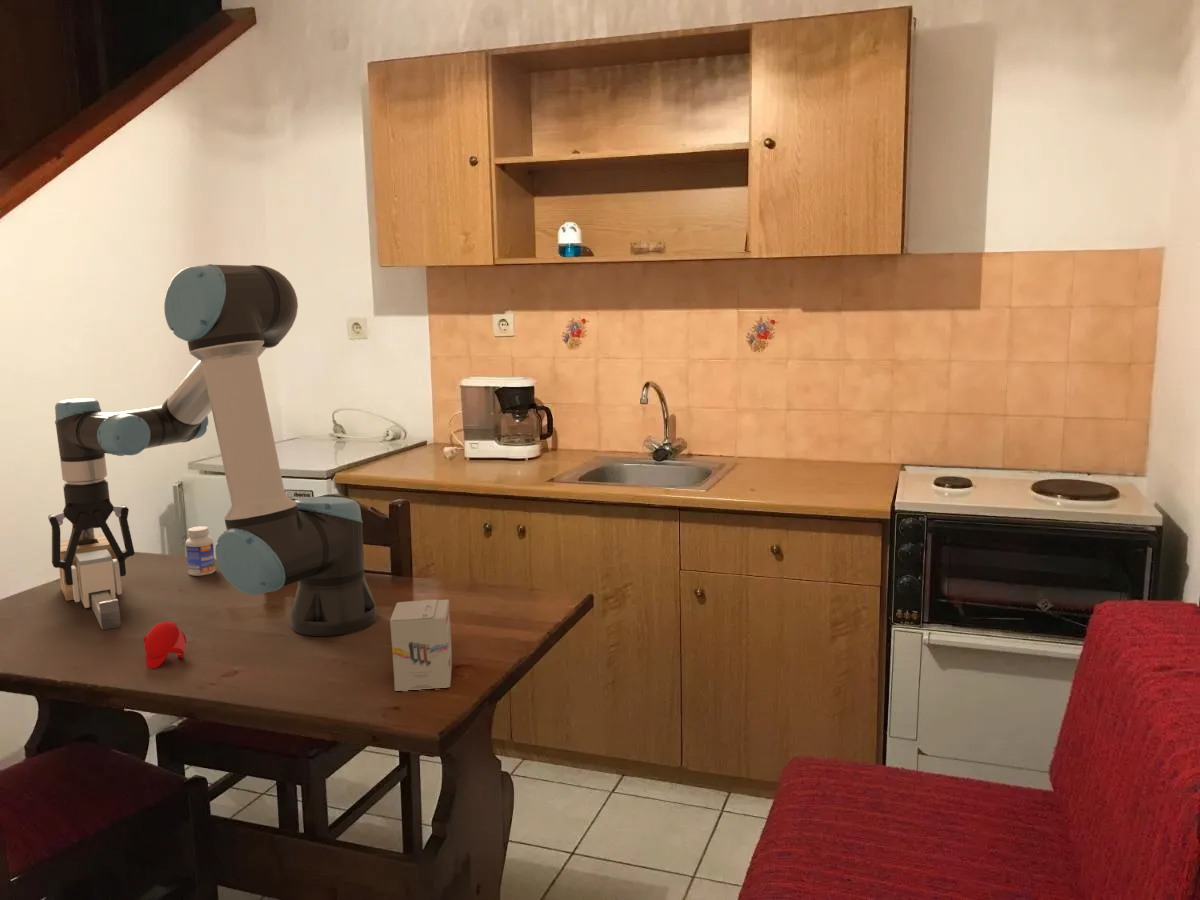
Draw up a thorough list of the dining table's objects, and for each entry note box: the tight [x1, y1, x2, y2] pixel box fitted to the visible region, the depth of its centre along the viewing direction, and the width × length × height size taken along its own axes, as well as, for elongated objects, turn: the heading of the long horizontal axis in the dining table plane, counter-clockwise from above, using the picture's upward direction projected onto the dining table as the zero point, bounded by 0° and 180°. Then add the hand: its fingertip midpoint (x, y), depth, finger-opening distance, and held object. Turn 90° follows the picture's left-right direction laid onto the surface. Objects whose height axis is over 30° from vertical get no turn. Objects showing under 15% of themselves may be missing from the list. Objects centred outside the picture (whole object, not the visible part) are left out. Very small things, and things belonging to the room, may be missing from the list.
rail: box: [88, 590, 122, 631], centre depth 183 cm, size 22×3×5 cm, turn 34°
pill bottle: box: [185, 525, 216, 577], centre depth 206 cm, size 5×5×10 cm
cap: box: [142, 621, 187, 669], centre depth 159 cm, size 8×6×6 cm
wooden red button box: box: [58, 534, 123, 601], centre depth 195 cm, size 9×10×10 cm
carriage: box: [76, 549, 117, 609], centre depth 187 cm, size 6×6×9 cm
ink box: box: [389, 598, 453, 692], centre depth 150 cm, size 9×9×12 cm
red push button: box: [71, 523, 95, 546], centre depth 193 cm, size 4×4×5 cm
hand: (98, 596), depth 187 cm, fingers open, 7 cm apart
